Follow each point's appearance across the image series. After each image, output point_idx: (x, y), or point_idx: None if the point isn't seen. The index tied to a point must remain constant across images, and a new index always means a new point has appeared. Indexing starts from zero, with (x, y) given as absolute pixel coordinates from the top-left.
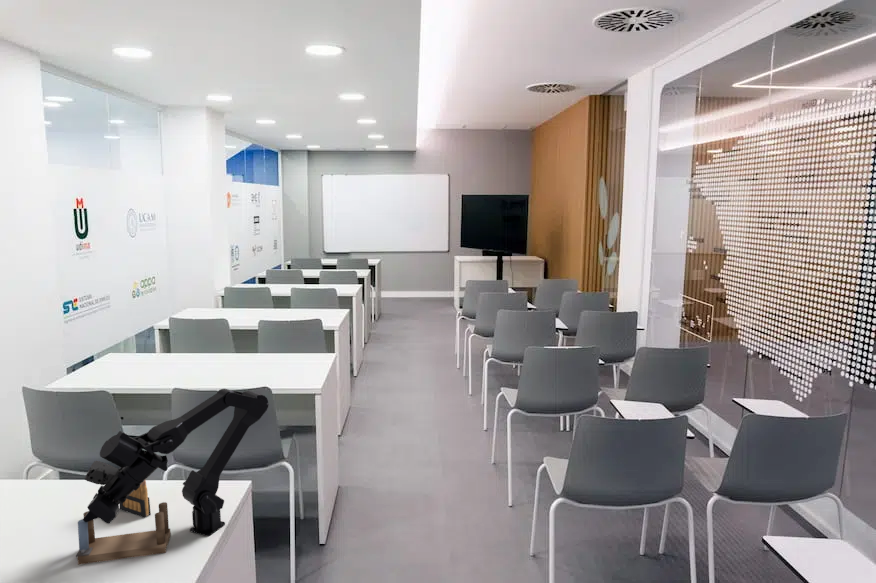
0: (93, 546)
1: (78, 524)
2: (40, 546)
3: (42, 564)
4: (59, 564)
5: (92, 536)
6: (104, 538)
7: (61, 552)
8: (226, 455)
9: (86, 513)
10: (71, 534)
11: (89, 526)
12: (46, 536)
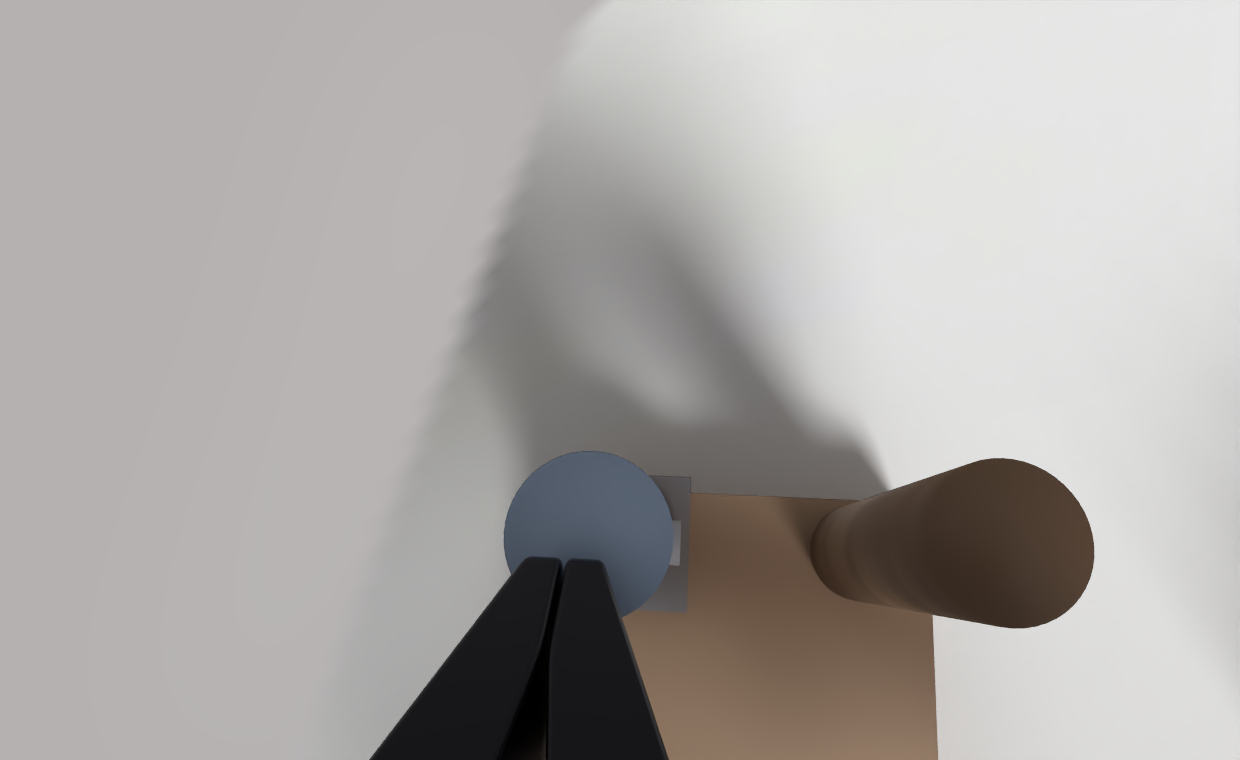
0: (735, 610)
1: (532, 477)
2: (1009, 83)
3: (679, 189)
4: (633, 328)
5: (842, 587)
6: (898, 700)
7: (849, 288)
8: None
9: (990, 513)
10: (1196, 287)
11: (866, 565)
12: (1194, 77)
